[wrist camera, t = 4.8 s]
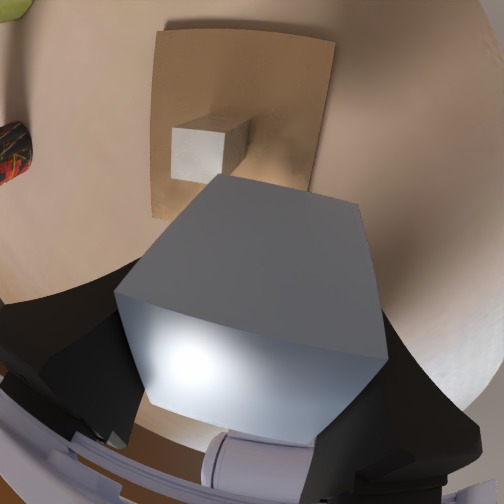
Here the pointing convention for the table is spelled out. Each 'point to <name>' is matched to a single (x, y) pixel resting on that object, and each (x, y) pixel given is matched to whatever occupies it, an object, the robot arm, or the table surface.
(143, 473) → the robot arm
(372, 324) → the pale blue cuboid
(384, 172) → the table surface
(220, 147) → the wooden board
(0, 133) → the deodorant
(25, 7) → the plant pot
